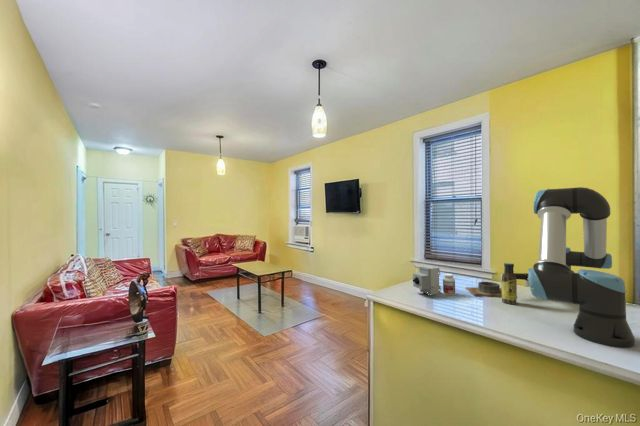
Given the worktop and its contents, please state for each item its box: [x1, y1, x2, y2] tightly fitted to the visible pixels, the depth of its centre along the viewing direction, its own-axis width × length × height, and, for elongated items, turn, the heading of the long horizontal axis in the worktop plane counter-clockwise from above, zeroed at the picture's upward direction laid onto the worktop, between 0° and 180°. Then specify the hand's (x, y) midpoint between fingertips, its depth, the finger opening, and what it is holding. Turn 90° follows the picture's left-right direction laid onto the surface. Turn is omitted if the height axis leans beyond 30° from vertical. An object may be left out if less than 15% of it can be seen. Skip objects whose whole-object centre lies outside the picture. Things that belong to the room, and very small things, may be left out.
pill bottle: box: [442, 273, 456, 296], centre depth 152 cm, size 6×6×11 cm
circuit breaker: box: [412, 265, 442, 296], centre depth 153 cm, size 8×14×15 cm, turn 107°
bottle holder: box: [465, 281, 502, 298], centre depth 151 cm, size 20×14×5 cm
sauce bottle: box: [501, 262, 518, 305], centre depth 135 cm, size 6×6×20 cm
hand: (512, 280), depth 136 cm, fingers open, 13 cm apart
